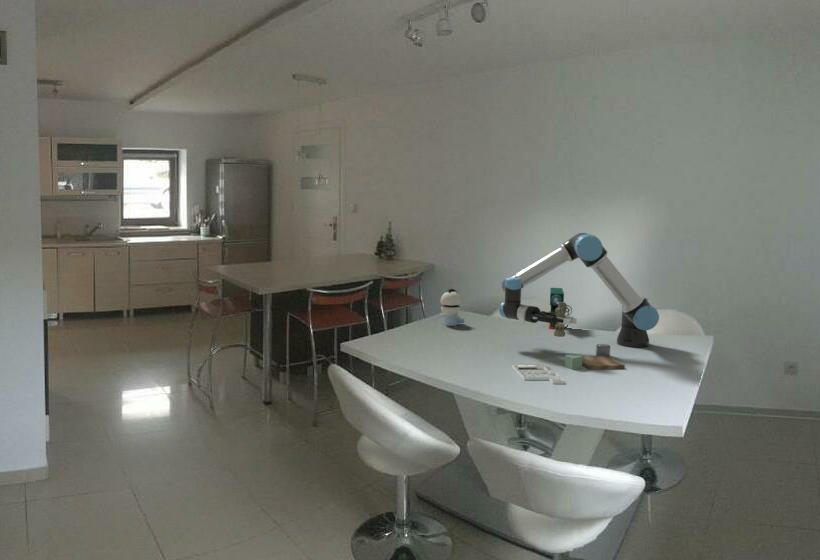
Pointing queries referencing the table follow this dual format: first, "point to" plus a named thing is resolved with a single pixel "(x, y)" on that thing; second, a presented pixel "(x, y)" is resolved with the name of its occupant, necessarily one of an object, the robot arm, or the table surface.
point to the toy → (451, 308)
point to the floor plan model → (553, 379)
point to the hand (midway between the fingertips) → (573, 321)
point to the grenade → (561, 313)
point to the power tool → (555, 301)
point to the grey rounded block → (603, 350)
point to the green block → (573, 361)
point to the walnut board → (601, 362)
